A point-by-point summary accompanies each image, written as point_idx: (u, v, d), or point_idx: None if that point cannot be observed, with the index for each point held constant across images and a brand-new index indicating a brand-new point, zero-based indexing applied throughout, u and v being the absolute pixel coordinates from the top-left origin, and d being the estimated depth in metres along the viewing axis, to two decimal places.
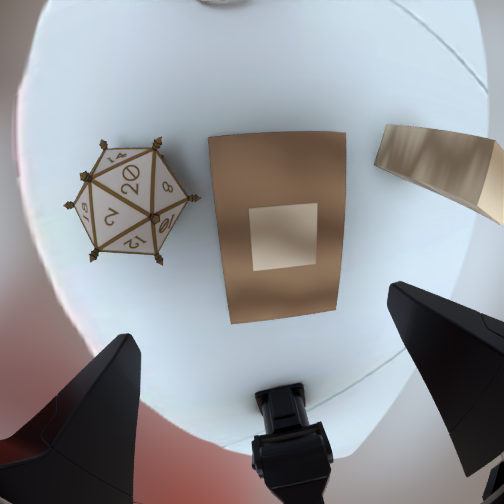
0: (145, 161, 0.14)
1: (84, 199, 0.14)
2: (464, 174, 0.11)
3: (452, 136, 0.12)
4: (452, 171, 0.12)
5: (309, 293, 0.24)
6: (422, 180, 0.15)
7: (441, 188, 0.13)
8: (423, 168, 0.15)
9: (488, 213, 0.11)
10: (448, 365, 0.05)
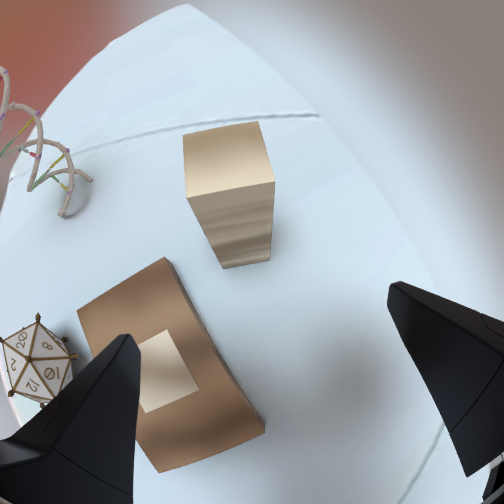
0: (31, 329, 0.16)
1: None
2: None
3: None
4: None
5: (216, 423, 0.17)
6: (207, 238, 0.17)
7: (201, 225, 0.15)
8: None
9: (220, 189, 0.12)
10: (448, 365, 0.05)
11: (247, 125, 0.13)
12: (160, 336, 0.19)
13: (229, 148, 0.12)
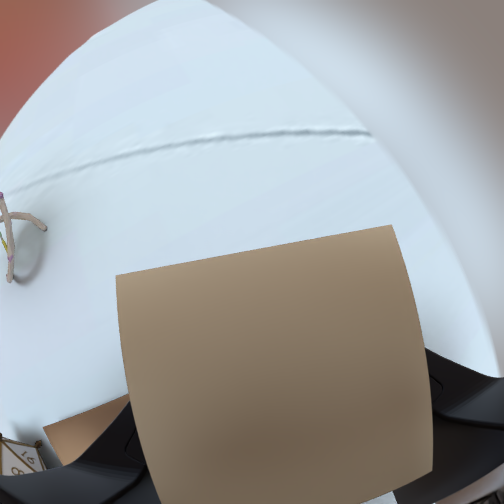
0: None
1: None
2: None
3: None
4: None
5: None
6: None
7: None
8: None
9: None
10: None
11: (363, 246, 0.03)
12: None
13: (303, 373, 0.03)
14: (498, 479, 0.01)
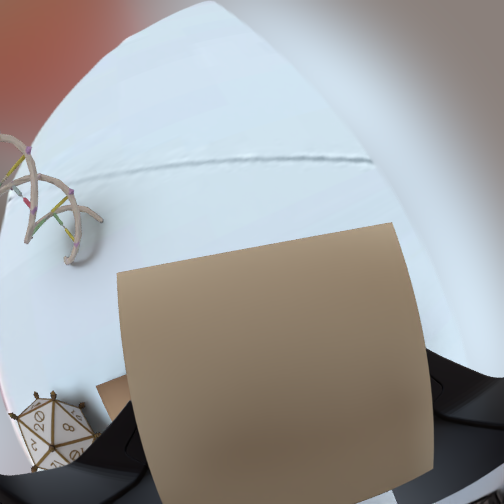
0: (47, 408, 0.13)
1: None
2: None
3: None
4: None
5: None
6: None
7: None
8: None
9: None
10: None
11: (364, 244, 0.03)
12: None
13: (304, 371, 0.03)
14: (498, 479, 0.01)
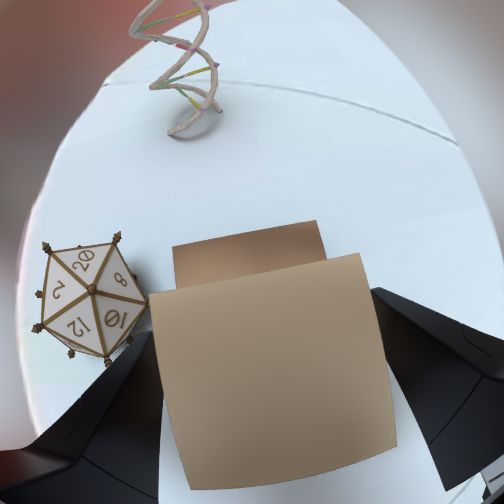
0: (102, 250, 0.14)
1: None
2: None
3: None
4: None
5: None
6: None
7: None
8: None
9: (273, 480, 0.04)
10: (425, 377, 0.05)
11: (335, 270, 0.05)
12: None
13: (289, 364, 0.04)
14: None
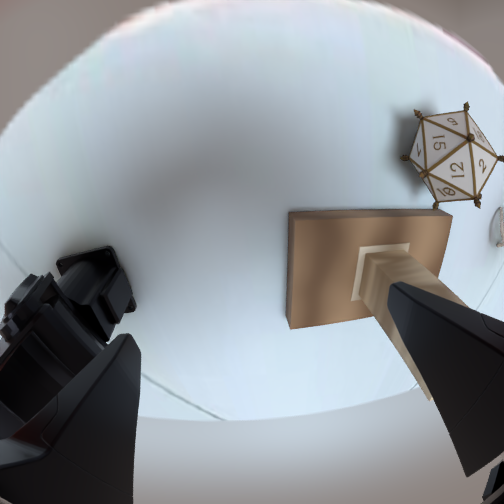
0: None
1: (484, 140, 0.13)
2: None
3: (462, 304, 0.13)
4: None
5: (319, 301, 0.22)
6: None
7: None
8: None
9: None
10: (448, 365, 0.05)
11: None
12: None
13: None
14: None
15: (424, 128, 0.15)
